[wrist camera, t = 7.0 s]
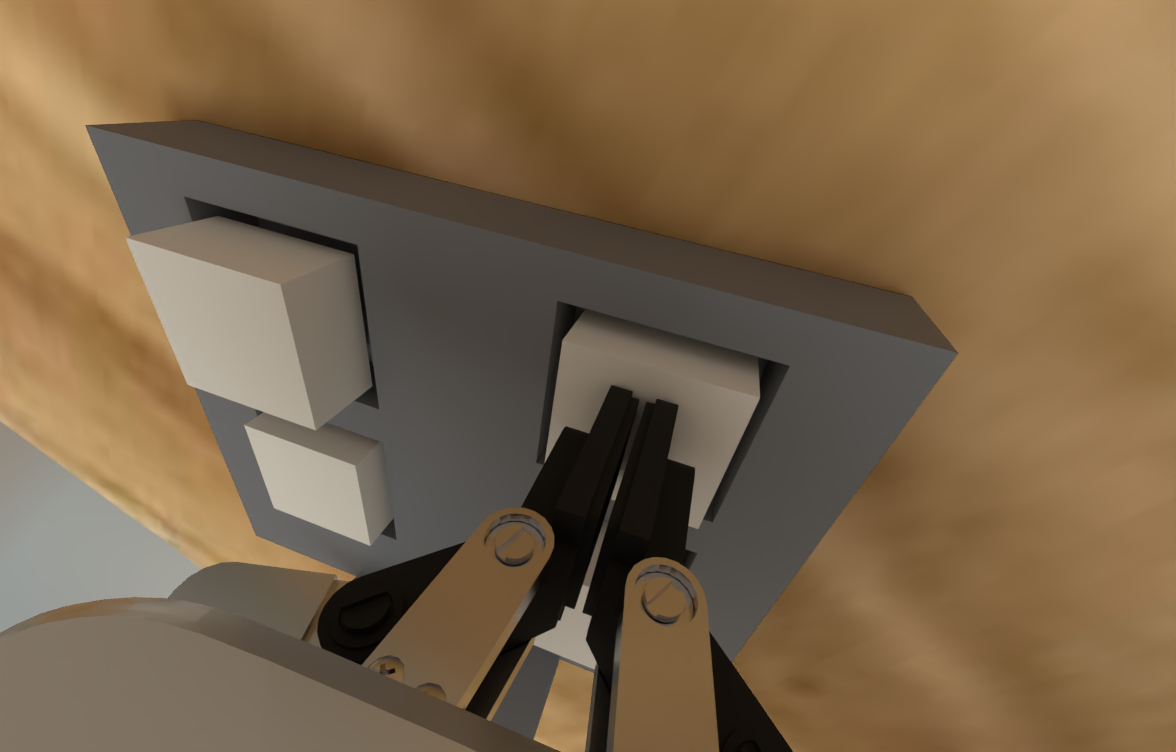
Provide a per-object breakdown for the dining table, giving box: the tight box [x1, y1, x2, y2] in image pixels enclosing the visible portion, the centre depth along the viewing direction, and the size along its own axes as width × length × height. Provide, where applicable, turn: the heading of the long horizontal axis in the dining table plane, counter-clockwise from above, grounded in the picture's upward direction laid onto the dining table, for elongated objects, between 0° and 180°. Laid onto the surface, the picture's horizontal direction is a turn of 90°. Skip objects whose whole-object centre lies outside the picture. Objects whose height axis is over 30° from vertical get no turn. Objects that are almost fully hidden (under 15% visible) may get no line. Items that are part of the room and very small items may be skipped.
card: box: [355, 571, 561, 740], centre depth 18 cm, size 10×1×7 cm, turn 81°
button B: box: [125, 216, 372, 430], centre depth 13 cm, size 4×4×2 cm
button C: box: [533, 521, 608, 670], centre depth 15 cm, size 4×4×2 cm
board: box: [85, 120, 958, 673], centre depth 17 cm, size 22×18×3 cm
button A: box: [545, 309, 760, 529], centre depth 12 cm, size 4×4×2 cm
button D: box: [244, 412, 394, 546], centre depth 18 cm, size 4×4×2 cm
